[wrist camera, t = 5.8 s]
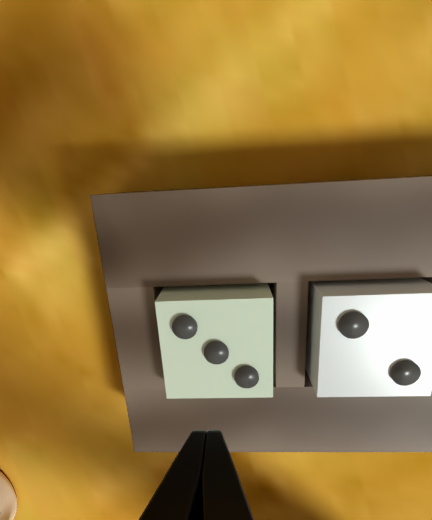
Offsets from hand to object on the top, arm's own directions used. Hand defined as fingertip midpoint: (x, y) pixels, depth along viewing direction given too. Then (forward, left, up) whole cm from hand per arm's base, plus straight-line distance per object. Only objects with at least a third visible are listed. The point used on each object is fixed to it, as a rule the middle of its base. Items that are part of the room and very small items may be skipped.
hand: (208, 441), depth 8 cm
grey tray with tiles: (0, -7, -8) cm, 11 cm away
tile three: (0, 0, -8) cm, 8 cm away
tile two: (0, -7, -8) cm, 10 cm away
